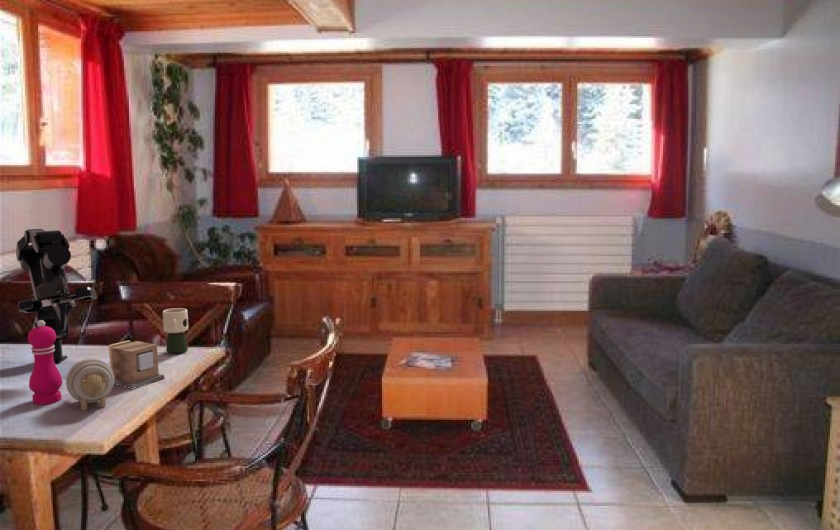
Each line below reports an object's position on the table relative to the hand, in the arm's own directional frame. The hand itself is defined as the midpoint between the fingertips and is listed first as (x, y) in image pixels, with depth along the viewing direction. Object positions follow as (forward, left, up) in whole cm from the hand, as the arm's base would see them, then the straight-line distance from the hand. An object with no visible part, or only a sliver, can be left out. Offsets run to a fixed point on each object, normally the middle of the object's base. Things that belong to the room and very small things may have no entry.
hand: (62, 330), depth 196 cm
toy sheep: (+24, +16, -13) cm, 32 cm away
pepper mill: (+21, +4, -13) cm, 25 cm away
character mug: (-22, +24, -13) cm, 35 cm away
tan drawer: (+6, +20, -10) cm, 23 cm away
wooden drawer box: (+4, +18, -12) cm, 22 cm away
